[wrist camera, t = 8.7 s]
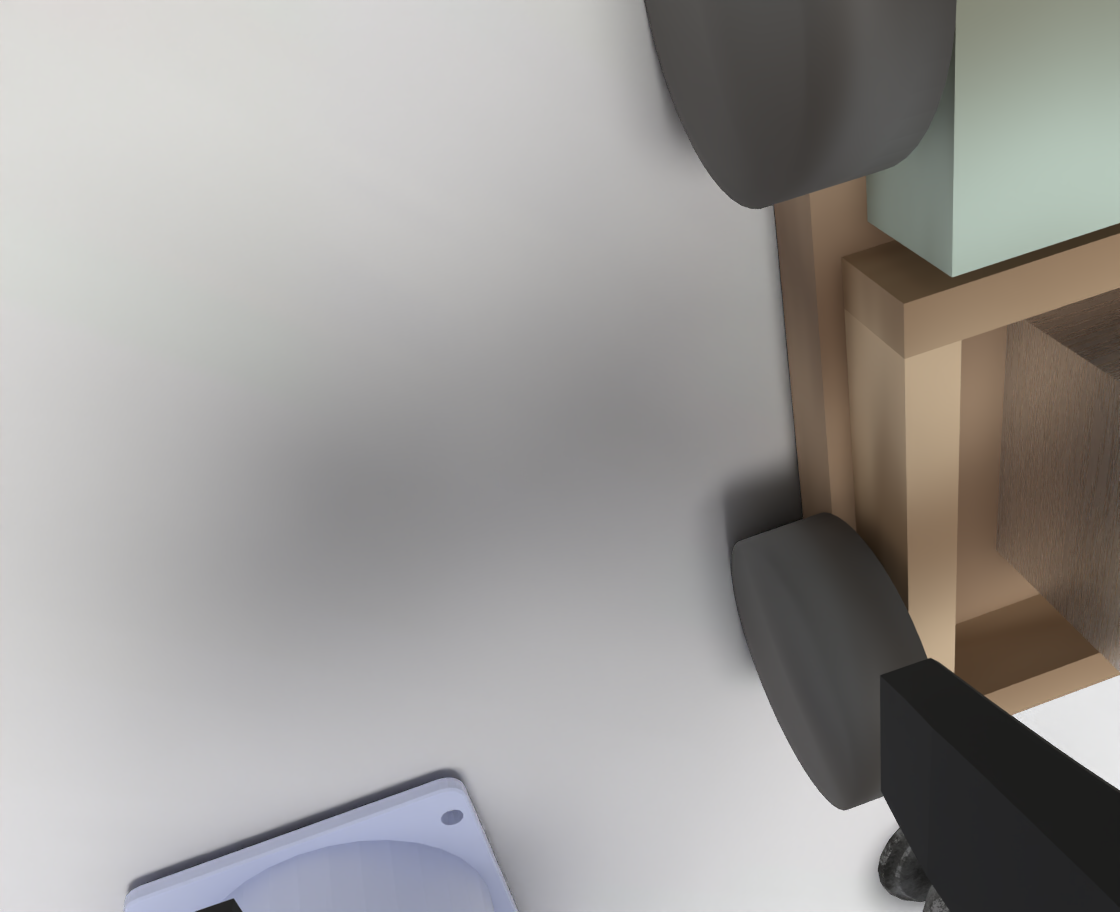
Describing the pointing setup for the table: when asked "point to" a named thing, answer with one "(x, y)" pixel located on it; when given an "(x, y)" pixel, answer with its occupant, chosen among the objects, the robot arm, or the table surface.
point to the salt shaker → (907, 875)
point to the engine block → (1065, 463)
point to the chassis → (904, 324)
